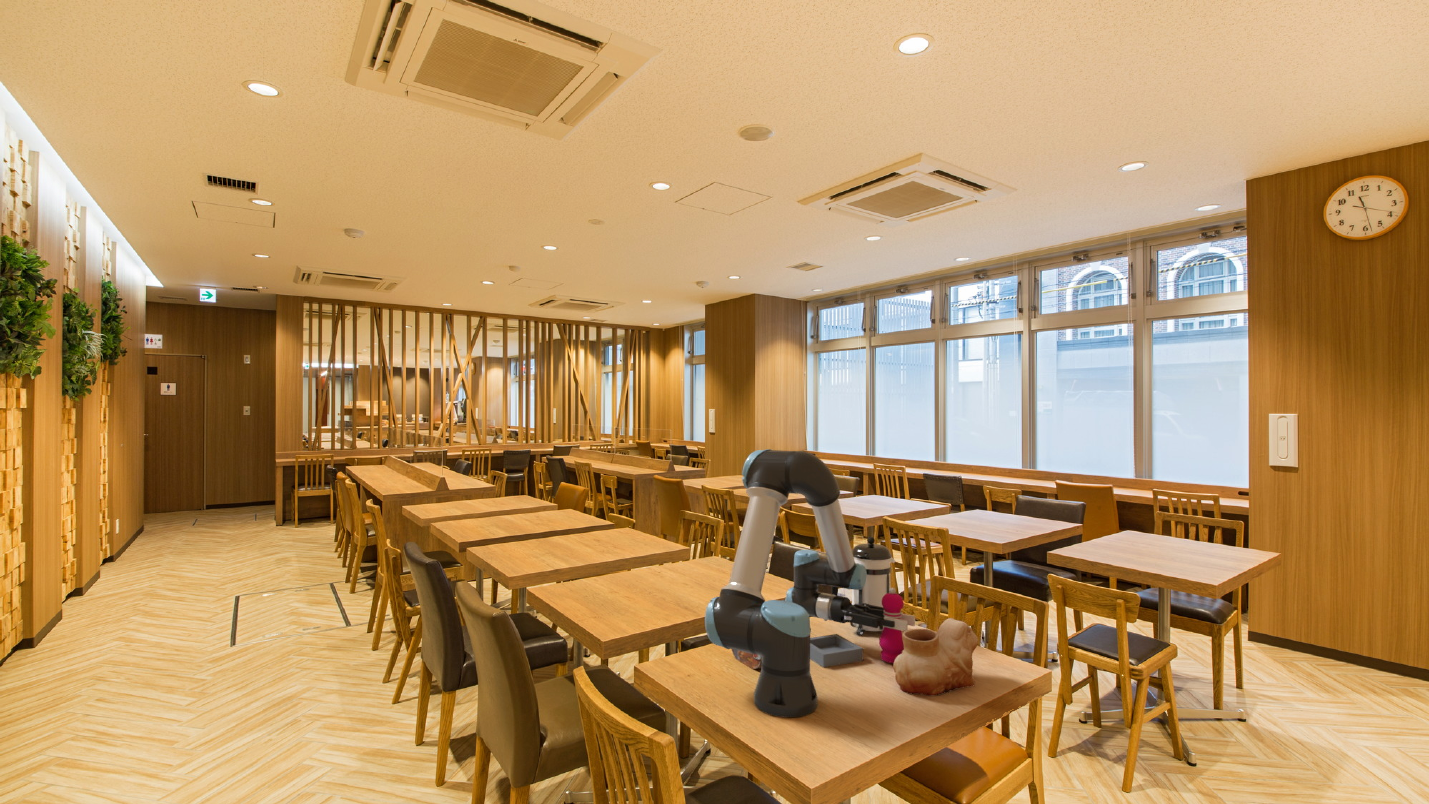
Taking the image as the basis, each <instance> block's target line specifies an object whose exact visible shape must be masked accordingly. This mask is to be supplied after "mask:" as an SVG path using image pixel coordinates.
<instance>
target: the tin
mask: <svg viewBox="0 0 1429 804" xmlns="http://www.w3.org/2000/svg"><path fill="white" fill-rule="evenodd" d="M731 651H732V654H733V657H734V658H735V659H736V660H737V662H740V663H742V664H744V665H746V666H747V667H748V666H749V667H748V668H751V670H756V669H761V668H762V659H761V656H760V655H756V654H751V653H747V652H742V651H738V650H733V649H731Z"/></svg>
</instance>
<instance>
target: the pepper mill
mask: <svg viewBox="0 0 1429 804" xmlns="http://www.w3.org/2000/svg"><path fill="white" fill-rule="evenodd" d="M889 592H890V593H887V594H885V595H884V596H883V598H882V606H883V607H884V609H885V610H883V612H884V614H883V615H884V616H886V617H890V618H895V619H900V618H901V617H902V615H901V613H902V614H903V612H902V611H901V610H902V609H903V608H904V600H903V597H902V596H901V595H900V594H899V593H896V592H897V591H896V588H895V587H890V590H889ZM902 634H903V632H902V630H897V629H892V628H887V627H884V629H883V631H881V634H880V635H879V636H880V637H879V641H878V642H879V643H878V644H879V647H880V648H881V649H882V650H881V651H880V659H881V660H882V661H884V662H886V663H890V664H894V661H895V659H896V657H897V656H898V655H900V654H902V653H903V652H904V644H903V639H902Z"/></svg>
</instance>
